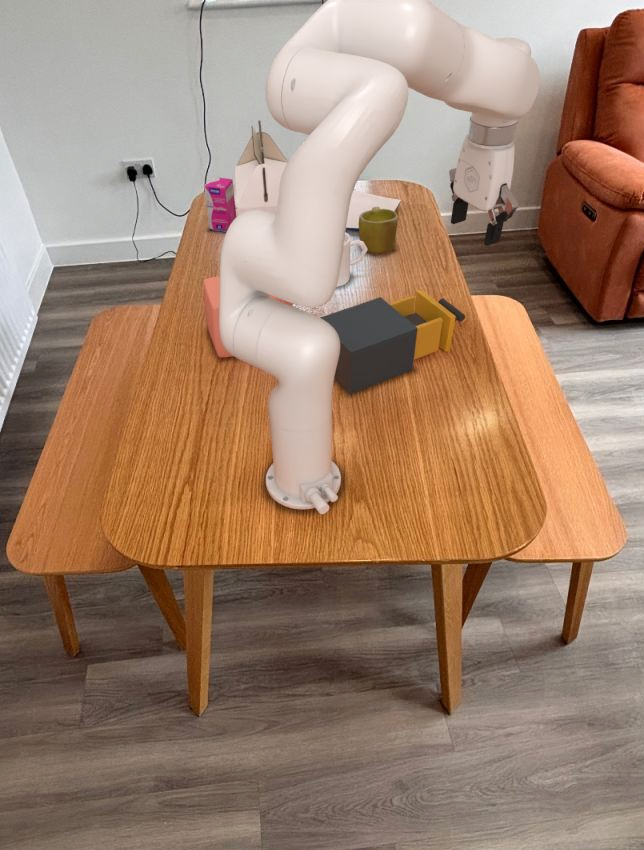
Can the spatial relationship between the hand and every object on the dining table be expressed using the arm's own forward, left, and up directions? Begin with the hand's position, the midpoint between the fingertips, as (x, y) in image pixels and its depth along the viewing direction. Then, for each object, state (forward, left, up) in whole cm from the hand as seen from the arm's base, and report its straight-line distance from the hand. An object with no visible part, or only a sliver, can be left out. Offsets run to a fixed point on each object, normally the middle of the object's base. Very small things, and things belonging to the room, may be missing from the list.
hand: (474, 232), depth 119 cm
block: (0, +12, -19) cm, 23 cm away
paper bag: (+48, +20, -21) cm, 56 cm away
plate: (+56, -9, -21) cm, 61 cm away
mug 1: (+31, +10, -21) cm, 39 cm away
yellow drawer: (0, +11, -20) cm, 23 cm away
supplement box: (+69, +23, -21) cm, 76 cm away
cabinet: (0, +23, -21) cm, 31 cm away
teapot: (+20, +37, -21) cm, 47 cm away
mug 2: (+40, -6, -21) cm, 46 cm away
